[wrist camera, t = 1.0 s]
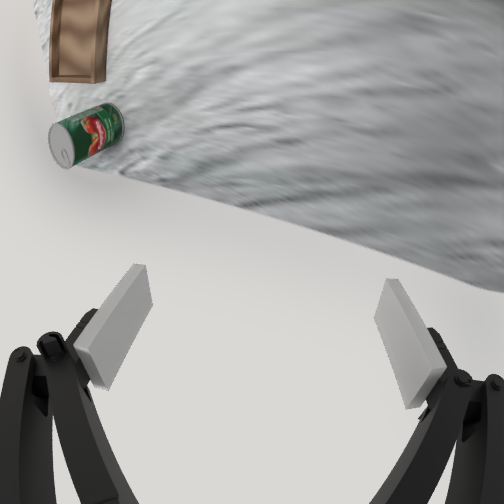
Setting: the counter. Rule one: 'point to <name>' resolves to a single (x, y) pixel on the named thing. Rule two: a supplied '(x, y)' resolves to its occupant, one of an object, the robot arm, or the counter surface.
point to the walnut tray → (78, 41)
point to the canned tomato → (85, 134)
